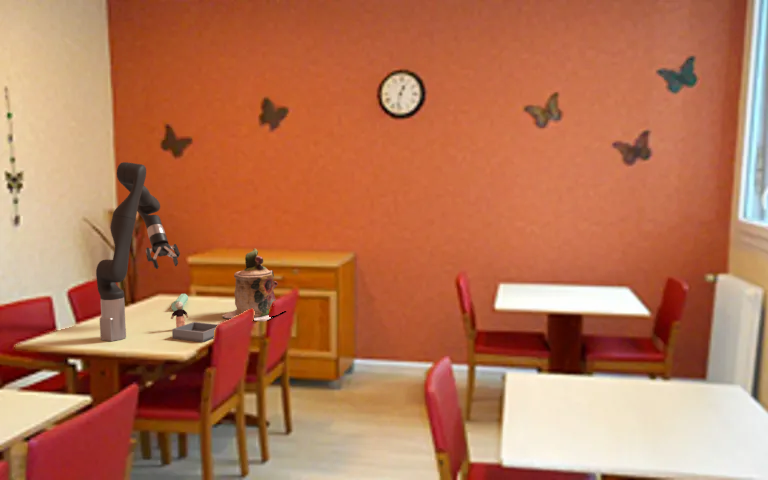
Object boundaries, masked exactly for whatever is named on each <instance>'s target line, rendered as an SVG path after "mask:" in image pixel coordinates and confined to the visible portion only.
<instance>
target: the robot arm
mask: <svg viewBox="0 0 768 480" xmlns="http://www.w3.org/2000/svg"><path fill="white" fill-rule="evenodd" d="M146 178H147V168H146V166H145V164H140V163H133V162H127V161H126V162H124V161H123V162H120V163H119V164H118V166H117V169H116V179H117V180H118V182H119V184H121V185H122V186H123V187H124V188H125V189H126V190H127V191H128V192H129V193H128V195H127V196H126V198H125V199H124V200H123V201H122V202H121V203H120V204H119V205H117V207H116V208H115V209H114V210H113V213H112V217H111V222H110V233H111V237H112V240H113V244H114V253H113V257H112V259H103V260H100V261H99V262H98V264H97V265H96V271H95V274H96V276H95V278H96V285H97V287H96V288H97V291H98V294H99V297H100V314H101V316H100V317H99V334H100V335H99V336H100V340H101V341H108V342H113V341H114V342H115V341H121V340H123V339H126V338H127V328H126V325H127V324H126V308H125V305H126V304H125V292H124V290H123V289H122V288H120V287H119V286H118V285H117V283H121V282H123V281H124V280H125V279H126V277H127V273H128V269H129V268H128V267H129V259H130V251H131V244H132V238H133V233H134V229H135V226H136V225H135V224H136V219H137V214H138V215H139V216H140V217H141V218H142V220H143V222H144V224H145V227H146V231H147V235H148V236H147V237H148V239H149V242H150V246H151V248H150V247H146V248H145V254H146V259H147V262H152V265H153V268H155V269H157V270H158V269H159V264H158V259H157V258H158V257H159V258H160V257H167V256H168V257H169V258H171V259H172V261H173V264H174V267H177V266H178V264H179V260H178V258H180V256H181V252H180V251H179V248H178V245H177V244H176V243H174V244H173V245H170V244H169V241H168V237H167V234H166V232H165V227H163V222H162V220H161V217H160V216H159V215H157V214H156V213H157V212H159V211H160V209H161V203H160V201H159V200H158V198H157V197H156V196H154V195H152V194H151V192H150V191H149V189H148V188H147V187H146V186H145V181H146ZM154 213H155V214H154ZM173 251H174V252H173ZM151 253H154V255H153V257H152V255H151Z"/></svg>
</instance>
